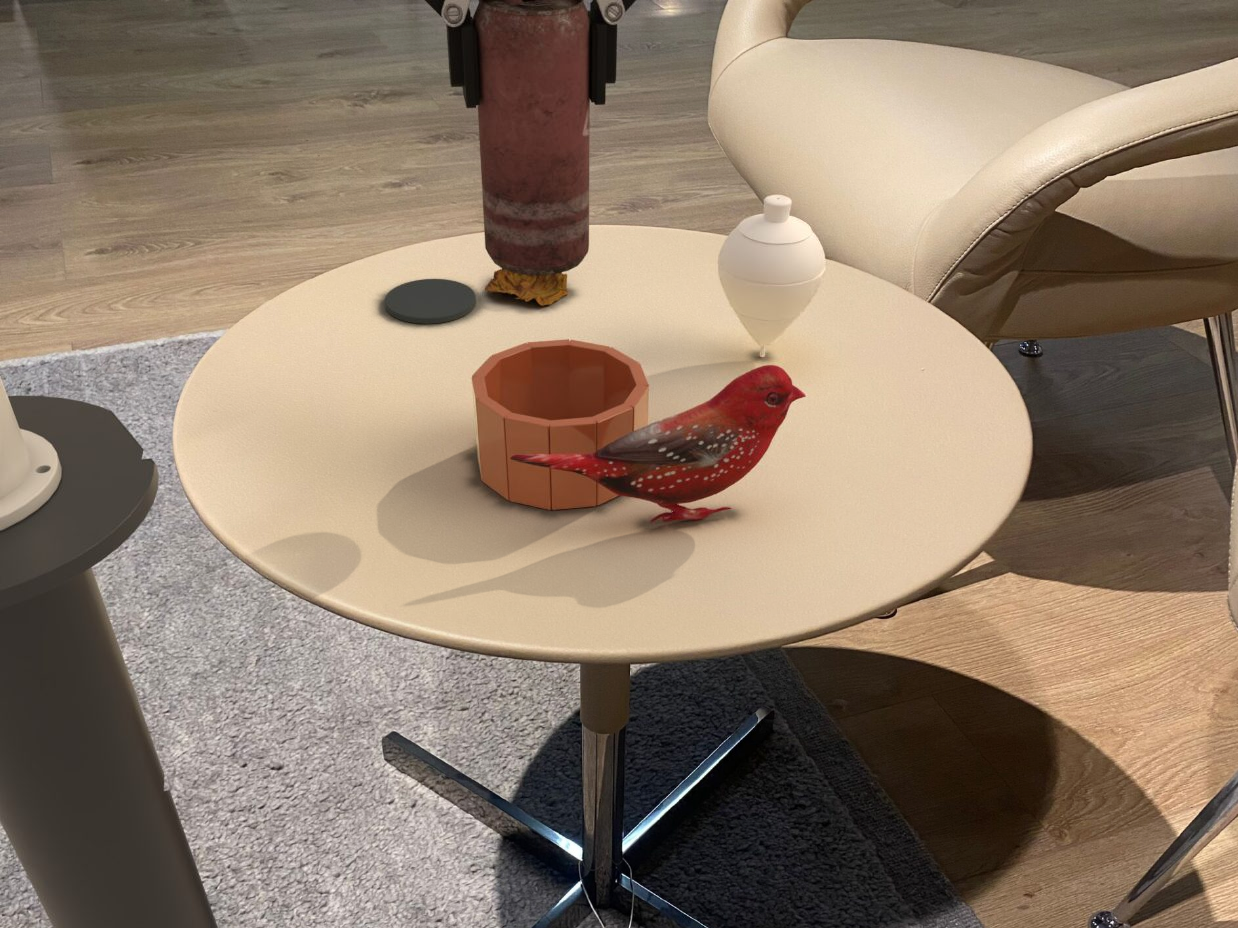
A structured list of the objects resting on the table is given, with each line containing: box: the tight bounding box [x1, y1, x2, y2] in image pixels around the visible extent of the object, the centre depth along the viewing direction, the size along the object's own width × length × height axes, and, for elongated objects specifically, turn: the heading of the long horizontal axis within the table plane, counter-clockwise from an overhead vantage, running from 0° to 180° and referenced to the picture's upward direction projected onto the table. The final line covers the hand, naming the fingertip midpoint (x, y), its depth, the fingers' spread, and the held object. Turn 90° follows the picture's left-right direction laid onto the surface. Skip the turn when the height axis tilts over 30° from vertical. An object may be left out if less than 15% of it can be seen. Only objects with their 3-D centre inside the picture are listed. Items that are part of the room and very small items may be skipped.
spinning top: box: [717, 194, 826, 358], centre depth 86 cm, size 8×8×12 cm
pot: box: [471, 338, 650, 511], centre depth 76 cm, size 11×11×6 cm
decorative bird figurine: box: [510, 364, 807, 523], centre depth 70 cm, size 3×18×10 cm, turn 105°
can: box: [472, 0, 591, 275], centre depth 66 cm, size 6×6×14 cm
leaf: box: [484, 268, 569, 307], centre depth 97 cm, size 6×7×2 cm
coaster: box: [384, 278, 477, 325], centre depth 95 cm, size 7×7×1 cm
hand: (533, 95), depth 65 cm, fingers closed on can, 6 cm apart
